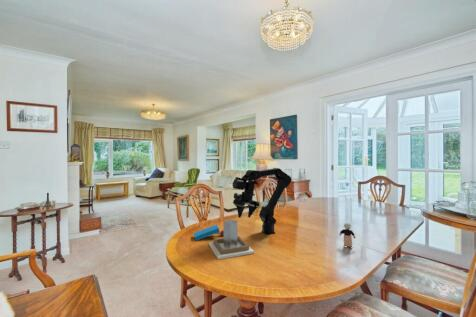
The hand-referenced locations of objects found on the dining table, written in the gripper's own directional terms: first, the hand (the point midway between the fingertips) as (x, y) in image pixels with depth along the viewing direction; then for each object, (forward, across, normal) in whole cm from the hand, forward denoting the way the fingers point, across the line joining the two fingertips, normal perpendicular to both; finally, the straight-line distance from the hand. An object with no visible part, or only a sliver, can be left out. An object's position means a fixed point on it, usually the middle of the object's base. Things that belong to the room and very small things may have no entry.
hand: (244, 217), depth 131 cm
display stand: (+14, +15, +6) cm, 21 cm away
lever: (+15, +10, -15) cm, 23 cm away
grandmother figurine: (+3, -26, +50) cm, 56 cm away
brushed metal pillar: (+13, +15, +6) cm, 21 cm away
